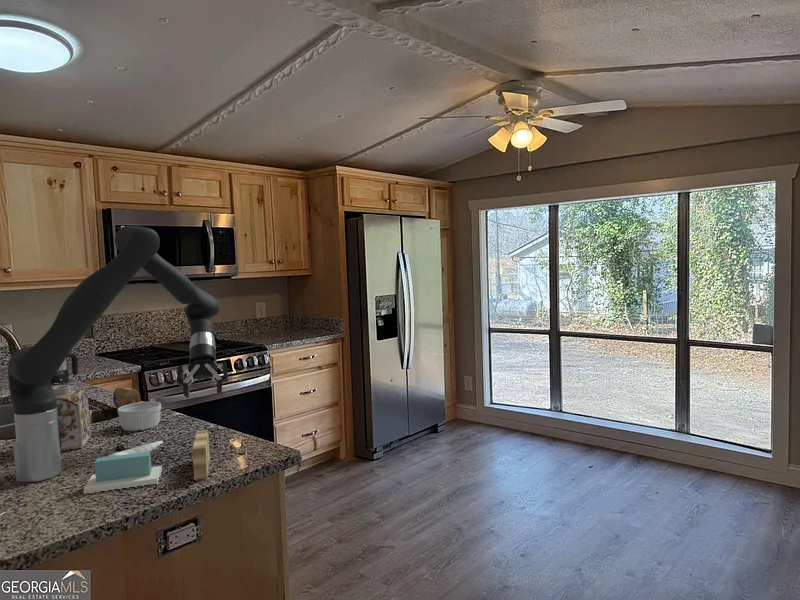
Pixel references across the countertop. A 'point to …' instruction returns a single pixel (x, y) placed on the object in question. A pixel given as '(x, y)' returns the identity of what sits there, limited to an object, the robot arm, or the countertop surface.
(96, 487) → the ridge stand
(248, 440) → the countertop surface
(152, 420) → the ramekin
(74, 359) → the milk frother
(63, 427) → the decorative jar
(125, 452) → the unicorn horn
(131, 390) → the tin
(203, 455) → the wooden beam
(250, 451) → the countertop surface
